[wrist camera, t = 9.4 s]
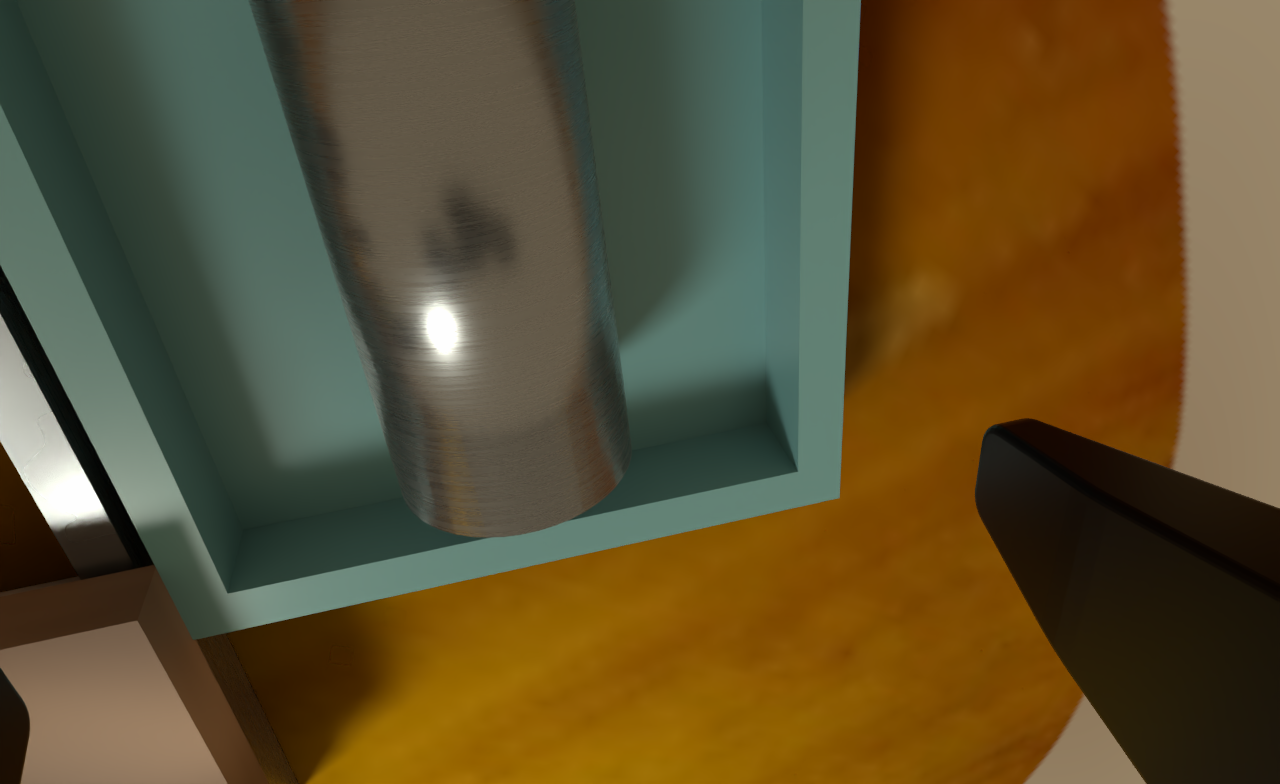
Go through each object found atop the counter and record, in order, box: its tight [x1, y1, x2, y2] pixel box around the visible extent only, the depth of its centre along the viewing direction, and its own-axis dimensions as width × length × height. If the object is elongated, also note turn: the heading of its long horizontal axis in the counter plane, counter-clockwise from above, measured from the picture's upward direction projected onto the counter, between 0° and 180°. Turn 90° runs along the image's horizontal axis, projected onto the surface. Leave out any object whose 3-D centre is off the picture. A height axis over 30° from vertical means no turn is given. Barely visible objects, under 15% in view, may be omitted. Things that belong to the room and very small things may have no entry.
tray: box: [0, 0, 861, 640], centre depth 16 cm, size 15×14×2 cm
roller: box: [248, 0, 632, 538], centre depth 15 cm, size 9×4×4 cm, turn 6°
